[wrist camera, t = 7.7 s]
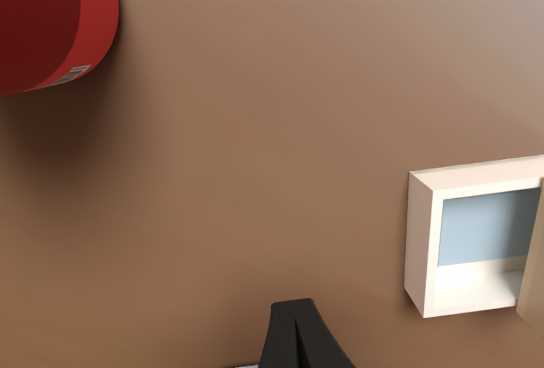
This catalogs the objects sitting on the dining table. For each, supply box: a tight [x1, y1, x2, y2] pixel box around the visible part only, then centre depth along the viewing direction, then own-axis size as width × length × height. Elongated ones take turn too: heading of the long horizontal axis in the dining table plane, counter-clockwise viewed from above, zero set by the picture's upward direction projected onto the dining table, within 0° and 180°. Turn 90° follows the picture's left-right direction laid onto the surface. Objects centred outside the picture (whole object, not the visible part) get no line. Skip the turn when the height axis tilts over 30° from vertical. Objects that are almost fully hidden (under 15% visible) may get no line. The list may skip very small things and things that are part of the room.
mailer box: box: [404, 154, 544, 318], centre depth 21 cm, size 11×9×3 cm
